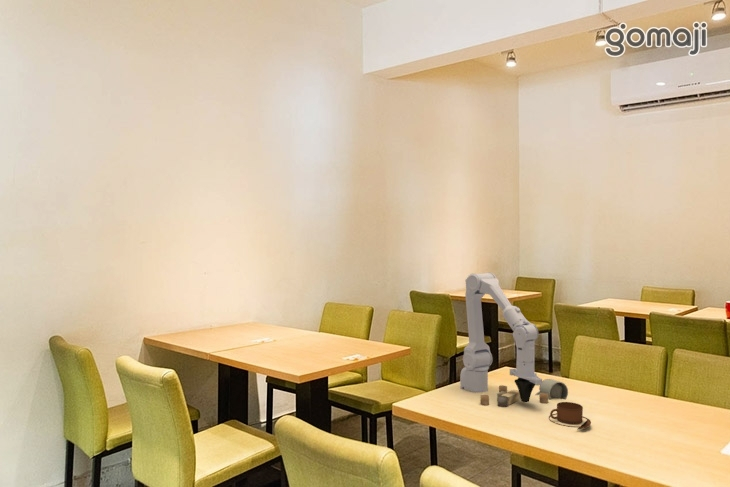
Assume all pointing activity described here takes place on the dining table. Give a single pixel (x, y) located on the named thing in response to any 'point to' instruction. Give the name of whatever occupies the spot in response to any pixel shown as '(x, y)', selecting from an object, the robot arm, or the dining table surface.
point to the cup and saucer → (570, 414)
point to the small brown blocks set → (503, 389)
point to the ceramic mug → (553, 389)
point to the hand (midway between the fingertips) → (525, 401)
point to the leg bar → (508, 398)
